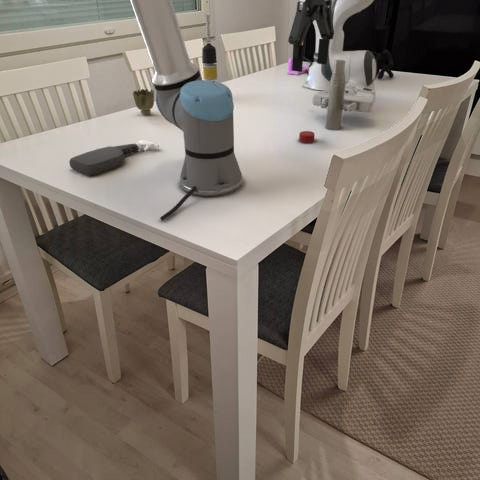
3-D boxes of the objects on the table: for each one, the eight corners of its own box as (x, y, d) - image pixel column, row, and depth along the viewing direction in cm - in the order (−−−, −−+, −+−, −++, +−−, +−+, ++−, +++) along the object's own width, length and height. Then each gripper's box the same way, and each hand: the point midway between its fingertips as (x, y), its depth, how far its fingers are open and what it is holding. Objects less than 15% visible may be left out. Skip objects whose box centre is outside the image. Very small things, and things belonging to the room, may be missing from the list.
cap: (315, 139, 136) (316, 132, 135) (311, 144, 133) (312, 136, 132) (301, 137, 138) (302, 130, 137) (297, 142, 134) (297, 134, 133)
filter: (220, 99, 177) (217, 15, 161) (206, 100, 176) (202, 16, 160) (215, 96, 182) (212, 14, 166) (202, 97, 180) (197, 14, 164)
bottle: (326, 129, 144) (332, 62, 133) (325, 125, 148) (331, 59, 137) (341, 129, 144) (348, 62, 133) (340, 125, 148) (346, 59, 137)
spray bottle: (67, 168, 120) (139, 144, 136) (91, 178, 114) (163, 151, 130) (65, 157, 118) (137, 134, 134) (89, 167, 112) (162, 142, 128)
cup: (131, 115, 161) (128, 92, 157) (144, 109, 166) (141, 87, 162) (147, 117, 158) (145, 94, 154) (160, 112, 163) (157, 89, 159)
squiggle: (382, 89, 208) (358, 69, 211) (398, 74, 207) (374, 53, 210) (386, 78, 197) (361, 56, 199) (403, 61, 196) (378, 40, 199)
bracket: (297, 74, 213) (298, 59, 209) (287, 73, 216) (288, 58, 212) (311, 70, 222) (312, 55, 218) (301, 68, 225) (302, 54, 221)
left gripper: (304, -21, 102) (297, 76, 114) (352, -22, 119) (342, 62, 130) (277, -21, 106) (273, 72, 117) (327, -22, 123) (320, 59, 134)
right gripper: (321, 84, 154) (305, 93, 145) (380, 91, 145) (366, 101, 135) (320, 102, 158) (303, 112, 148) (377, 110, 148) (364, 121, 139)
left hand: (309, 67), depth 124 cm, fingers open, 13 cm apart
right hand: (334, 107), depth 141 cm, fingers open, 6 cm apart
